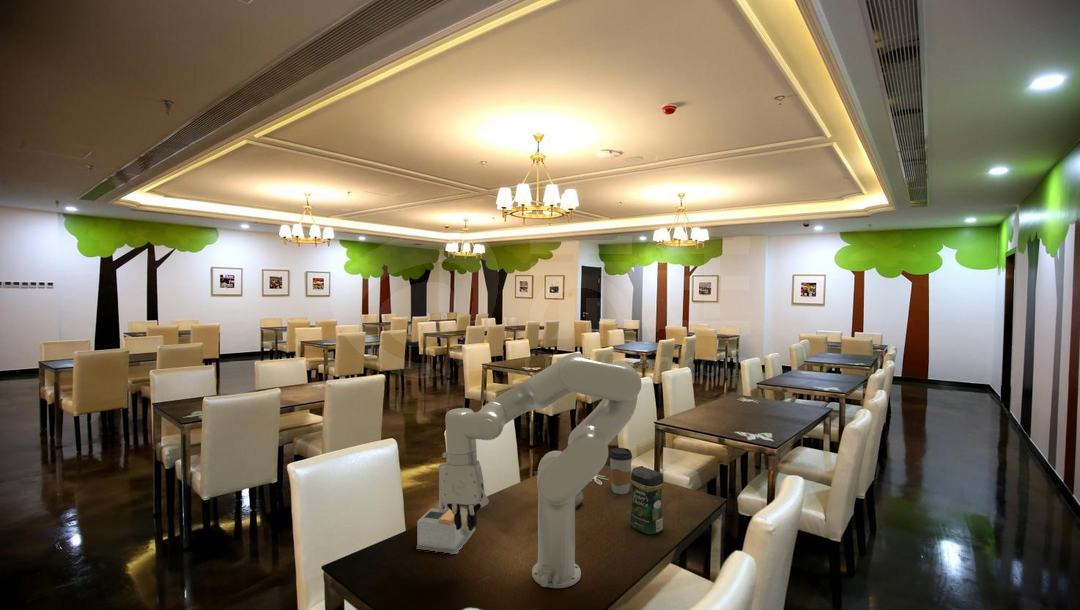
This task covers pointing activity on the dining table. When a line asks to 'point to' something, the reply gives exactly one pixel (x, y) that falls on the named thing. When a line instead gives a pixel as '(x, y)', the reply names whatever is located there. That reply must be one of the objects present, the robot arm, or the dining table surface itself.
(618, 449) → the coffee cup
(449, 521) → the tan rectangular block
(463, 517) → the pale grey cylinder
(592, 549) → the dining table surface
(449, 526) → the pole on box base
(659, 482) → the coffee jar
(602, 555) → the dining table surface
